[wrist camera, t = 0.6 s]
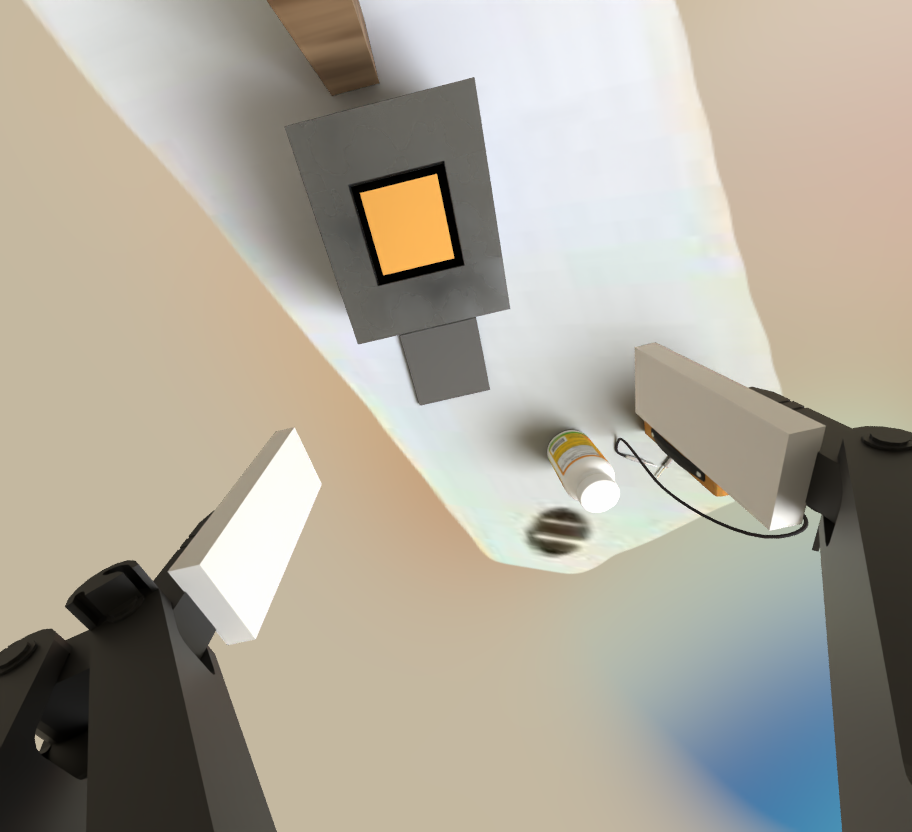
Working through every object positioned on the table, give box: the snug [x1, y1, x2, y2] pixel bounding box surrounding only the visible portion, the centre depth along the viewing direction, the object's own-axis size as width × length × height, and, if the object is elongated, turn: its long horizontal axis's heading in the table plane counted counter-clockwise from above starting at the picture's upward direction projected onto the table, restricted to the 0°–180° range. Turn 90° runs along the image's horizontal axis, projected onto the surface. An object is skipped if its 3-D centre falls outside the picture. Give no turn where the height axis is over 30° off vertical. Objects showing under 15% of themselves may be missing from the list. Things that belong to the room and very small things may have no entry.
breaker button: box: [360, 174, 454, 275], centre depth 29 cm, size 5×5×6 cm
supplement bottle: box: [547, 430, 620, 513], centre depth 42 cm, size 5×5×10 cm
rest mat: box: [400, 317, 490, 405], centre depth 40 cm, size 8×8×1 cm
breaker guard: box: [285, 77, 510, 344], centre depth 30 cm, size 14×12×10 cm
